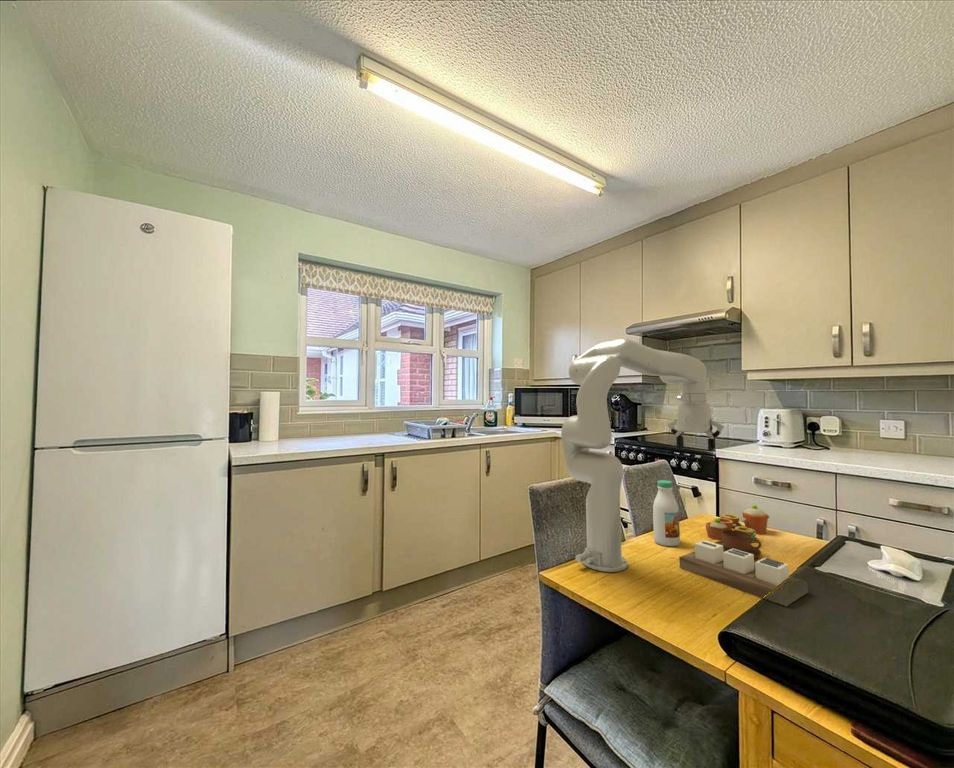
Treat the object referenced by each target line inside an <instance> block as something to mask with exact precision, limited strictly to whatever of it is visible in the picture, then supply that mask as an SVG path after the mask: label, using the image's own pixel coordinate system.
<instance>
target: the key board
mask: <svg viewBox="0 0 954 768" xmlns="http://www.w3.org/2000/svg"><path fill="white" fill-rule="evenodd" d="M678 560H679V568H680V569H681V570H685V571H687V572H689V573H693V574H695V575H698V576H701V577H702V578H703V577H704V578H706V579H708V580H712V581H715V582H717V583H719V584H722V585H725V586H727V587H731V588H732V589H736V590H739V591H742V592H744V593H747V594H748V595H751V596H755V597H757V598H760V599H763V597H764V596H765V595H767V594H768V593H769V592H771V591H772V590H774V589H775V588H776V587H777V586H778V585H775V584H772V583H769V582H766V581H763V580H760V579H757V578H756V568H755V563H754V571H752V572H750V573H748V574H746V575H745V574H742V573H739V572H736V571H733V570H730V569H727V568H724V561H721V562H719V563H716V564H712V563H709V562H706V561H703V560H700V559H697V558H695V550H693V551H692V552H689V553H686V554H683V555H681V556H679V557H678ZM790 575H791V574H789V576H790Z"/></svg>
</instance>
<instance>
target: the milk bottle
mask: <svg viewBox="0 0 954 768" xmlns="http://www.w3.org/2000/svg"><path fill="white" fill-rule="evenodd" d="M673 486H674V485H673V482H672V481H671V480H666V479H665V480H664V479H663V480H662V479H660V480H657V489H658V491H657V494H656V496H655V498H654V501H653V506H652V515H653V516H652V519H653V520H652V521H653V540H654V542H655V543H656V544H658V545H661V546H664V547H677V546H679V545H680V543H681V532H680V530H681V529H680V512H679V511H680V509H679V505H678V501H677V500H676V498H675V495H674V494H673V493H674V492H673V489H674V488H673Z"/></svg>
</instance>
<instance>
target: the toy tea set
mask: <svg viewBox="0 0 954 768" xmlns="http://www.w3.org/2000/svg"><path fill="white" fill-rule="evenodd" d="M769 519H770V515H769V514H768V513H765V511H763V510H762V509H760V508H758V506H757V504H752V506H751V507H748V508H746V509H744V510H743V511H742V517H741V519H740V517H739V516H738V515H735V514H734V513H731V514H729V513H725V514H722V515H721V516H719V517H718V518H717V517H716V518H714V521H713V522H705V524H704V525H705V530H706V535H707V537H708V538H709V539H711V540H715V541H716V540H717V541H722V531H724V530H733V529H734V530H736V531H742V532H745V533H748V534H749V535H751V539H752V538H753V539H757V540H758V538H757V537H756V536H757V535H765V534H767V528H768V527H767V526H768V522H769V521H768V520H769ZM740 520H741V522H743V523H744V526H743V525H742V523H741V522H740ZM755 542H757V541H752V542H751V543H755Z"/></svg>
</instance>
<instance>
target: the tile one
mask: <svg viewBox="0 0 954 768" xmlns="http://www.w3.org/2000/svg"><path fill="white" fill-rule="evenodd" d="M694 551H695V558H697V559H700V560H703V561H706V562H709V563H712V564H716V563H719V562H721V561H723V545H719V544H716V543H715V542H712V541H708V540H701V541H699V542H696V543H694Z"/></svg>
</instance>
